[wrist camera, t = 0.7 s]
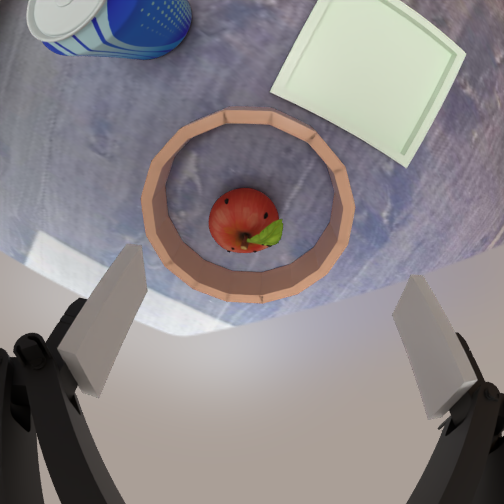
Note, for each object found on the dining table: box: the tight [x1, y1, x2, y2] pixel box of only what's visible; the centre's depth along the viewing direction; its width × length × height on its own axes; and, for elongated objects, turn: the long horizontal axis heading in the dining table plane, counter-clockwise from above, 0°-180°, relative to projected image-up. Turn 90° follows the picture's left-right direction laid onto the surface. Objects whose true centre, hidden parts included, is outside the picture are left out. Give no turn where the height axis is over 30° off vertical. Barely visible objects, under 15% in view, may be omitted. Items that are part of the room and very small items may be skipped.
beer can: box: [26, 0, 192, 60], centre depth 16 cm, size 8×8×16 cm
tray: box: [270, 0, 466, 168], centre depth 23 cm, size 16×16×2 cm
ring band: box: [141, 106, 355, 303], centre depth 31 cm, size 21×21×4 cm
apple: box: [209, 188, 283, 253], centre depth 29 cm, size 8×7×10 cm
